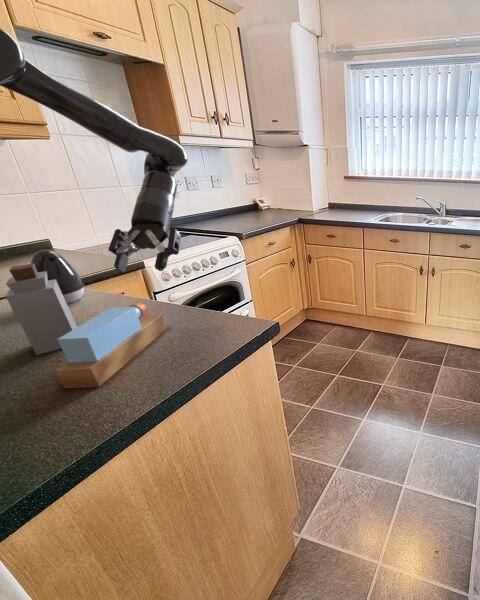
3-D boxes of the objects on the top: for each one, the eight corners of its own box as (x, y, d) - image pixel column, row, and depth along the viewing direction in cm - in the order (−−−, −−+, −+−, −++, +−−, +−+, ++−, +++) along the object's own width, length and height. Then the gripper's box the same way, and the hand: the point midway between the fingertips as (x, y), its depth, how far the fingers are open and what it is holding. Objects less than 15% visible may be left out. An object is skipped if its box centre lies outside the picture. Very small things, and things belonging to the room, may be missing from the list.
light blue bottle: (97, 361, 61) (87, 337, 59) (68, 362, 61) (56, 339, 59) (154, 318, 77) (147, 298, 75) (131, 319, 77) (124, 299, 75)
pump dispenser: (52, 311, 90) (27, 257, 84) (34, 305, 94) (8, 252, 88) (97, 298, 99) (76, 247, 93) (78, 292, 103) (57, 243, 97)
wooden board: (99, 386, 61) (91, 368, 59) (64, 388, 61) (54, 370, 59) (166, 328, 81) (161, 313, 80) (140, 329, 81) (135, 314, 79)
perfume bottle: (40, 342, 76) (0, 266, 68) (79, 332, 80) (46, 259, 72) (36, 355, 71) (-6, 274, 64) (78, 344, 75) (43, 267, 68)
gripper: (112, 201, 79) (93, 263, 73) (175, 200, 80) (162, 261, 74) (134, 220, 86) (118, 278, 80) (192, 219, 87) (181, 276, 81)
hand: (139, 270), depth 77 cm, fingers open, 8 cm apart
